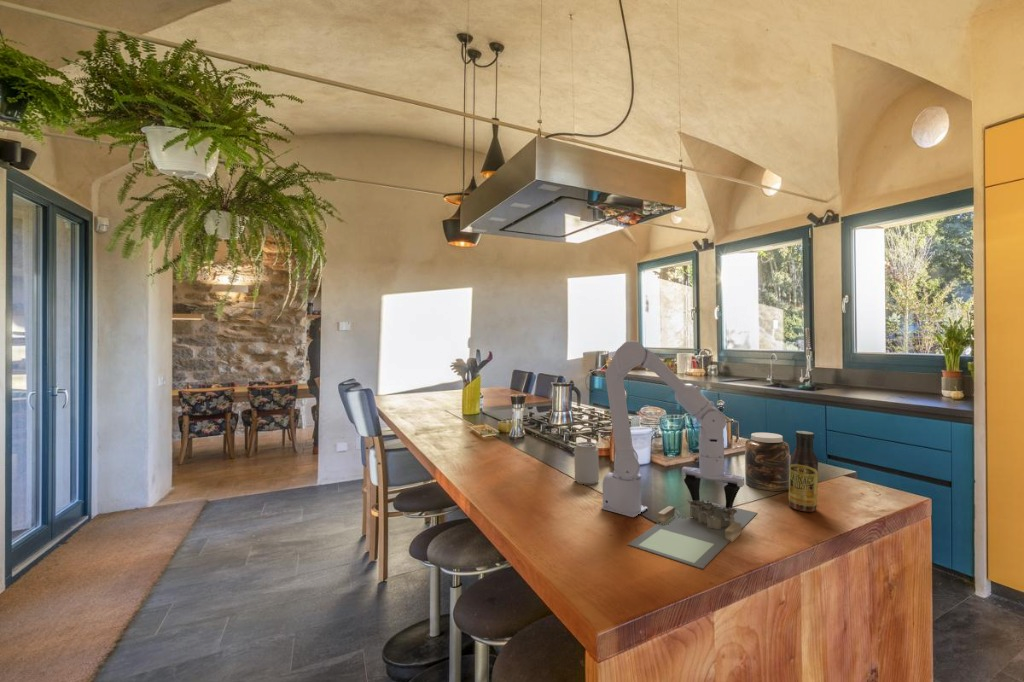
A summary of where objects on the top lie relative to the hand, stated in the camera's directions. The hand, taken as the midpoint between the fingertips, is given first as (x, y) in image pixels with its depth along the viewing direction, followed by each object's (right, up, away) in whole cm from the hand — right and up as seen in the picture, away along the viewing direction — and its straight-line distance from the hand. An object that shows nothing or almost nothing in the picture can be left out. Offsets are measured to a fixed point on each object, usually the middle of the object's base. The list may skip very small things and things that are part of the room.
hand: (712, 509), depth 114 cm
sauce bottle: (+25, -1, +3) cm, 25 cm away
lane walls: (-6, -2, -7) cm, 10 cm away
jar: (+26, -1, +23) cm, 35 cm away
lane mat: (-7, -2, -7) cm, 10 cm away
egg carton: (-2, -2, -4) cm, 4 cm away
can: (-27, -2, +28) cm, 39 cm away
